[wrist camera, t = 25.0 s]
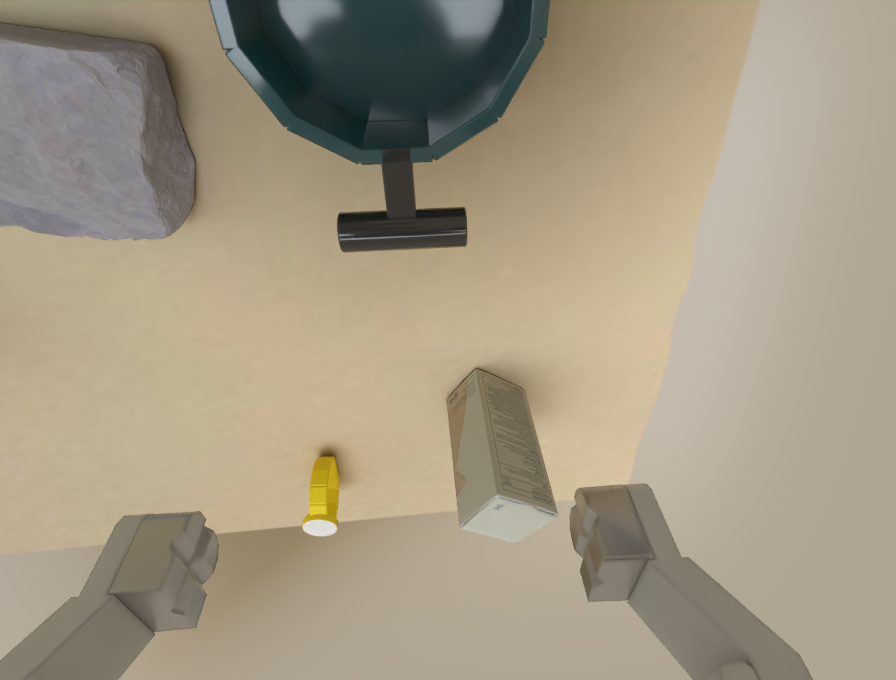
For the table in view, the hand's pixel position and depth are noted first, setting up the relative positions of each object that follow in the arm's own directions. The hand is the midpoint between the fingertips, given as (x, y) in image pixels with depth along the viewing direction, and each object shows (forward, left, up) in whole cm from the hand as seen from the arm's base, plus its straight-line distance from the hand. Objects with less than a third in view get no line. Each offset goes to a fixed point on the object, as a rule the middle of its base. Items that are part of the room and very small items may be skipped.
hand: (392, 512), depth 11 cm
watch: (+27, -9, -21) cm, 35 cm away
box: (+19, +5, -21) cm, 29 cm away
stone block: (-2, -17, -21) cm, 27 cm away
